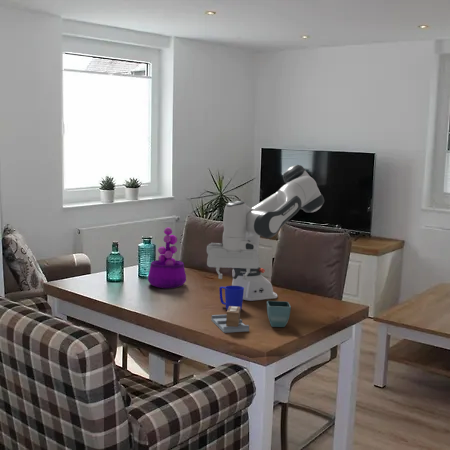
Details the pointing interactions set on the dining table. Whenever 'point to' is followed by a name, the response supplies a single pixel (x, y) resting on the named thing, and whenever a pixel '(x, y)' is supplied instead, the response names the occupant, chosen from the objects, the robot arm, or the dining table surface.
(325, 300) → the dining table surface
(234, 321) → the brown block
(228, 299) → the mug
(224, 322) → the grey ridged tray
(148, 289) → the dining table surface
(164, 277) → the decorative plant
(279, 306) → the flower pot
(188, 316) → the dining table surface
